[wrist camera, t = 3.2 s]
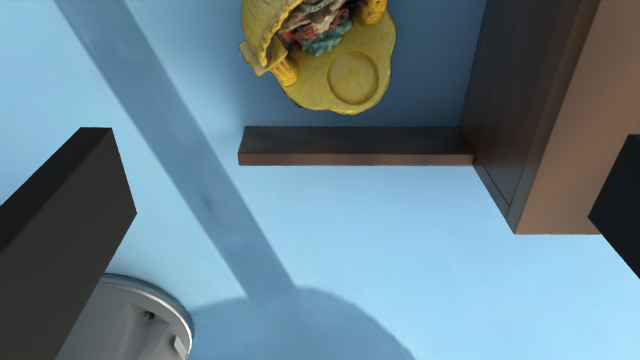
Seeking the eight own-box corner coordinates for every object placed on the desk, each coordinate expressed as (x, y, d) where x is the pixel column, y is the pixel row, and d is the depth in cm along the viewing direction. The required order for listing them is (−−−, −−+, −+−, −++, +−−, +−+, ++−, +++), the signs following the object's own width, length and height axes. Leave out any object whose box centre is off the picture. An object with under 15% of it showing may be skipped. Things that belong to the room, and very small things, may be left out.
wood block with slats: (246, 137, 31) (219, 235, 22) (216, -172, 21) (145, -226, 12) (634, 139, 32) (763, 234, 23) (784, -160, 22) (1120, -203, 13)
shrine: (238, -73, 24) (158, -44, 11) (379, -110, 23) (460, -123, 10) (289, 107, 30) (273, 253, 18) (401, 84, 29) (467, 220, 17)
